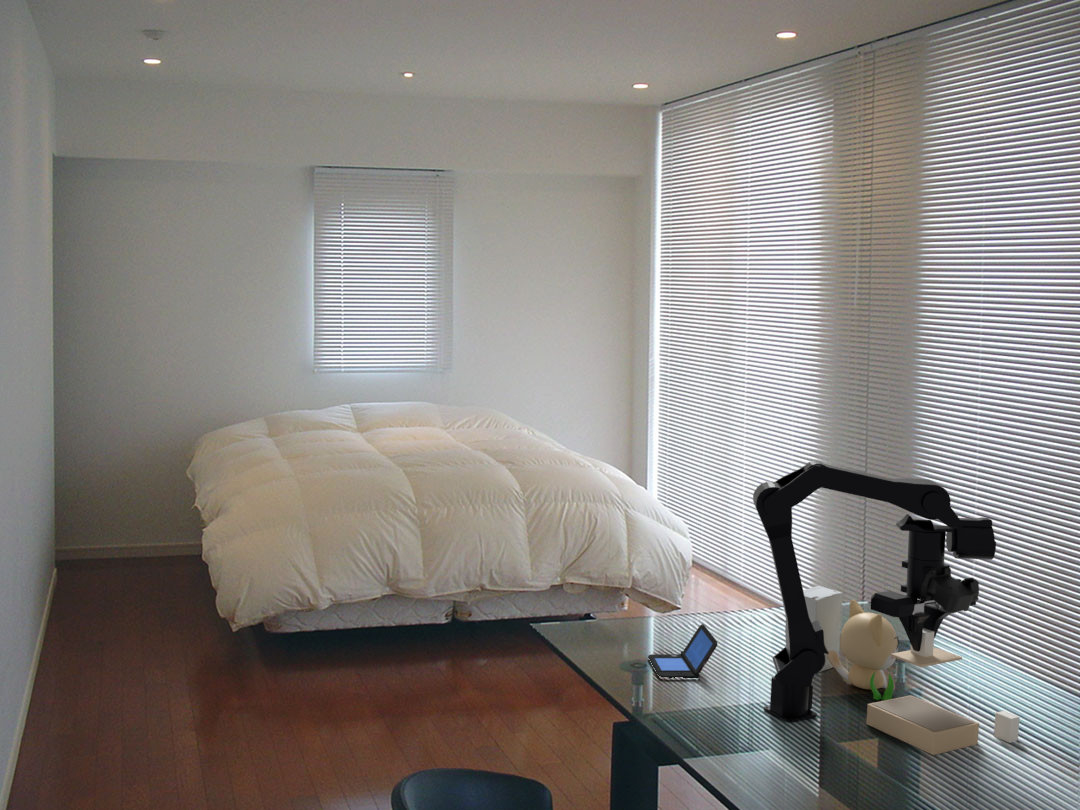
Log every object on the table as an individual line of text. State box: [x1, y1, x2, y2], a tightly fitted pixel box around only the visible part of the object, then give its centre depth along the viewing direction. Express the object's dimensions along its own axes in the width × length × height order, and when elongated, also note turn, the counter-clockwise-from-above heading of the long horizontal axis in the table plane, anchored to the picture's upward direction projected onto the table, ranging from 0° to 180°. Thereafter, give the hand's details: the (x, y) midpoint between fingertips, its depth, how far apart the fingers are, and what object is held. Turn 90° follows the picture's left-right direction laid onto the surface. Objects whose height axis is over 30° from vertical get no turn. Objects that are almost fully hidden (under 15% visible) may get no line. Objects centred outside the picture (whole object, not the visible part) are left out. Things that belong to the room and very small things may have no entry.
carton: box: [866, 694, 980, 756], centre depth 181 cm, size 10×14×4 cm
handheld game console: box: [647, 623, 718, 679], centre depth 210 cm, size 12×11×7 cm
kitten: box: [827, 599, 900, 701], centre depth 202 cm, size 15×10×15 cm
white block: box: [993, 710, 1020, 744], centre depth 182 cm, size 9×6×4 cm
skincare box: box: [803, 585, 843, 673], centre depth 213 cm, size 8×6×15 cm
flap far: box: [891, 628, 963, 668], centre depth 184 cm, size 9×6×4 cm
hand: (921, 649), depth 185 cm, fingers closed on flap far, 2 cm apart
